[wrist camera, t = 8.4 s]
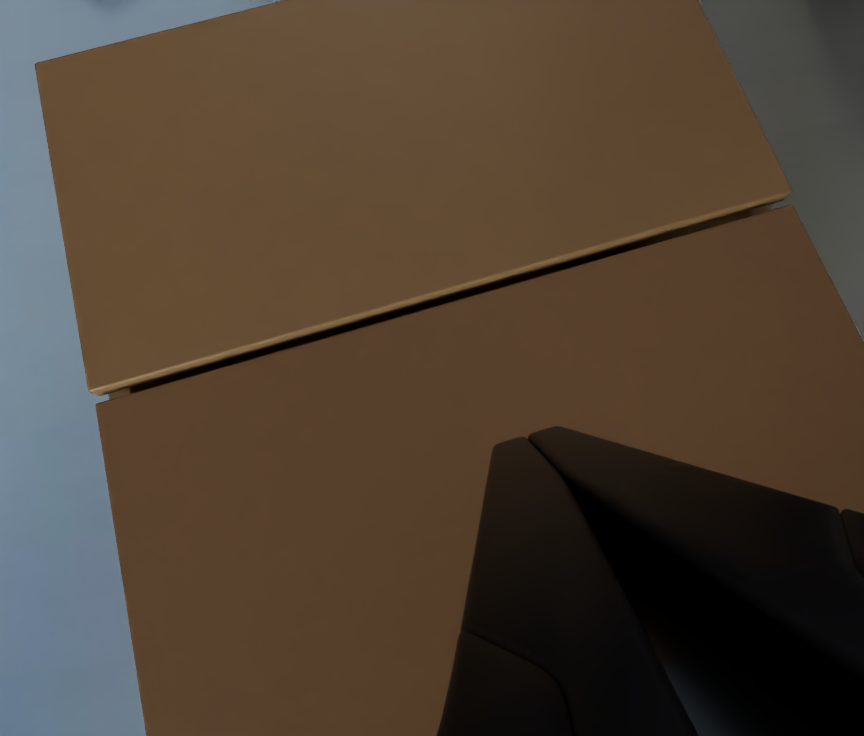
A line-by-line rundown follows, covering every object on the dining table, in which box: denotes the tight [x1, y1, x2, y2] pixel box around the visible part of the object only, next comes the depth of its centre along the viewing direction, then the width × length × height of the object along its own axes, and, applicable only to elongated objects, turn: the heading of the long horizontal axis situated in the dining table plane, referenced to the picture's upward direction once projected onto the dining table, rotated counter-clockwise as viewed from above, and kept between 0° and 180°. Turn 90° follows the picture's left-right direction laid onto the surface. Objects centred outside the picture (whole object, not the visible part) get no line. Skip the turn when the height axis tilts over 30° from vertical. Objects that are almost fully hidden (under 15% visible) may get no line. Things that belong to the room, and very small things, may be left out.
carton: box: [35, 0, 792, 400], centre depth 15 cm, size 13×12×9 cm
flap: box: [96, 205, 864, 736], centre depth 10 cm, size 6×12×1 cm, turn 107°
